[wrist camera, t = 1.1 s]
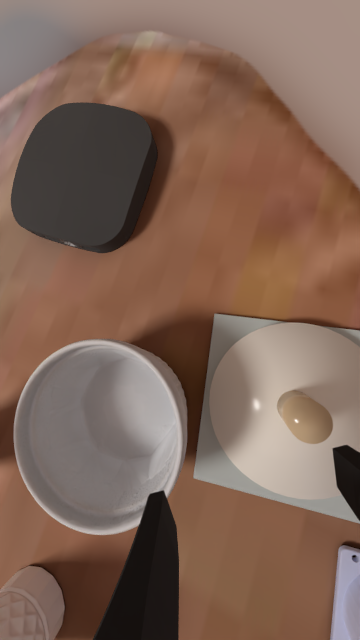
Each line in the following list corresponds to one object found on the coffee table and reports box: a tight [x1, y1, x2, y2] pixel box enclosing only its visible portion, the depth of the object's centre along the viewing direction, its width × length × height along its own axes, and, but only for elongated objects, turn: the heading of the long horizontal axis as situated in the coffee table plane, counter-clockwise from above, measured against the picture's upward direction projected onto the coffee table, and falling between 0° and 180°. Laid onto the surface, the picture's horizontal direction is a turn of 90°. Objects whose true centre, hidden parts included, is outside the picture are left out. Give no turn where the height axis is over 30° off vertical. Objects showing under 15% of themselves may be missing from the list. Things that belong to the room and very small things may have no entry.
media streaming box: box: [11, 103, 157, 253], centre depth 24 cm, size 15×15×3 cm
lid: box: [209, 323, 360, 500], centre depth 17 cm, size 14×14×4 cm
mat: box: [193, 314, 360, 523], centre depth 19 cm, size 15×15×1 cm
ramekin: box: [13, 339, 187, 535], centre depth 19 cm, size 13×13×7 cm
